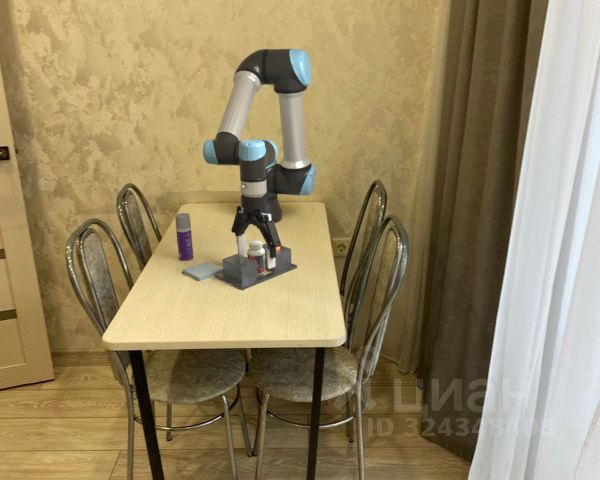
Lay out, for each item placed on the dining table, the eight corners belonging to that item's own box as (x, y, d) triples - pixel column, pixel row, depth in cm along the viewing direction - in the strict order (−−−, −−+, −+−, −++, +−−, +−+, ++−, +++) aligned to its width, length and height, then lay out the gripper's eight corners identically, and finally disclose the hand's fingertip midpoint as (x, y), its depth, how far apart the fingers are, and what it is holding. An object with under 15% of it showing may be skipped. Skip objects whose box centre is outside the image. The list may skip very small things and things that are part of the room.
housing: (269, 256, 179) (268, 239, 177) (297, 267, 170) (297, 250, 168) (215, 276, 164) (213, 258, 162) (242, 290, 156) (241, 271, 154)
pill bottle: (247, 276, 165) (246, 246, 161) (248, 269, 170) (247, 239, 166) (265, 275, 165) (264, 245, 161) (265, 268, 170) (264, 239, 166)
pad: (206, 264, 174) (206, 261, 173) (223, 272, 168) (223, 269, 167) (182, 272, 168) (182, 269, 167) (199, 281, 162) (199, 277, 161)
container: (190, 262, 175) (186, 217, 170) (176, 260, 176) (172, 217, 171) (195, 256, 180) (192, 213, 174) (182, 255, 181) (178, 212, 175)
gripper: (217, 188, 164) (221, 254, 172) (272, 205, 148) (274, 276, 155) (237, 184, 169) (240, 247, 177) (292, 199, 153) (293, 269, 160)
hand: (256, 261), depth 166 cm, fingers open, 13 cm apart
